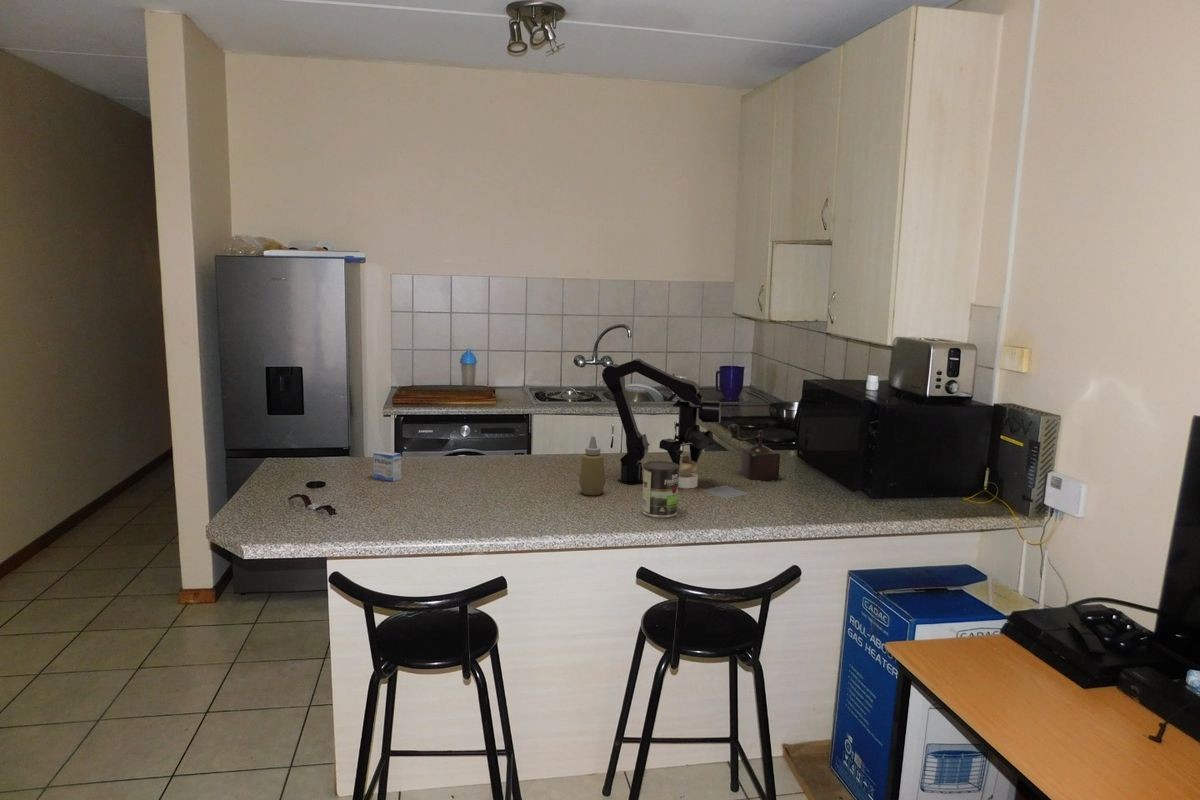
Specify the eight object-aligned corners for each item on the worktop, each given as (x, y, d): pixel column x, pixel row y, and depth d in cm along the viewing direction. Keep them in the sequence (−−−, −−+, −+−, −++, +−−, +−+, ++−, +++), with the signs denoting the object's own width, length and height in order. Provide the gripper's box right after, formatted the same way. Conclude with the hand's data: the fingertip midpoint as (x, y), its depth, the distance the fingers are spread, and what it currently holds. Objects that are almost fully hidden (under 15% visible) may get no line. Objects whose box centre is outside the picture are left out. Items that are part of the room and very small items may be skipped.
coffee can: (684, 512, 230) (686, 465, 227) (662, 520, 222) (664, 471, 220) (656, 504, 237) (658, 458, 234) (634, 512, 229) (636, 464, 227)
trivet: (725, 500, 242) (725, 499, 242) (700, 492, 251) (700, 490, 251) (750, 495, 249) (750, 493, 249) (724, 487, 257) (724, 485, 257)
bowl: (684, 491, 251) (684, 479, 251) (667, 485, 258) (667, 473, 257) (702, 488, 256) (702, 476, 256) (685, 482, 263) (685, 470, 262)
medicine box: (373, 479, 257) (372, 452, 255) (381, 475, 261) (381, 450, 260) (393, 482, 254) (392, 455, 253) (401, 478, 258) (401, 452, 257)
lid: (685, 474, 251) (685, 460, 251) (670, 469, 257) (671, 456, 256) (700, 471, 255) (701, 457, 255) (685, 467, 261) (686, 453, 260)
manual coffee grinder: (764, 472, 277) (767, 421, 274) (779, 480, 267) (782, 428, 264) (723, 474, 273) (726, 423, 270) (736, 483, 263) (739, 429, 260)
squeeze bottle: (609, 491, 249) (610, 435, 246) (598, 498, 242) (599, 440, 238) (585, 488, 252) (587, 432, 249) (574, 494, 245) (575, 437, 242)
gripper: (683, 428, 241) (681, 478, 244) (726, 422, 253) (724, 470, 255) (659, 422, 250) (657, 470, 253) (701, 416, 261) (699, 462, 264)
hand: (685, 468), depth 256 cm, fingers closed on lid, 7 cm apart
